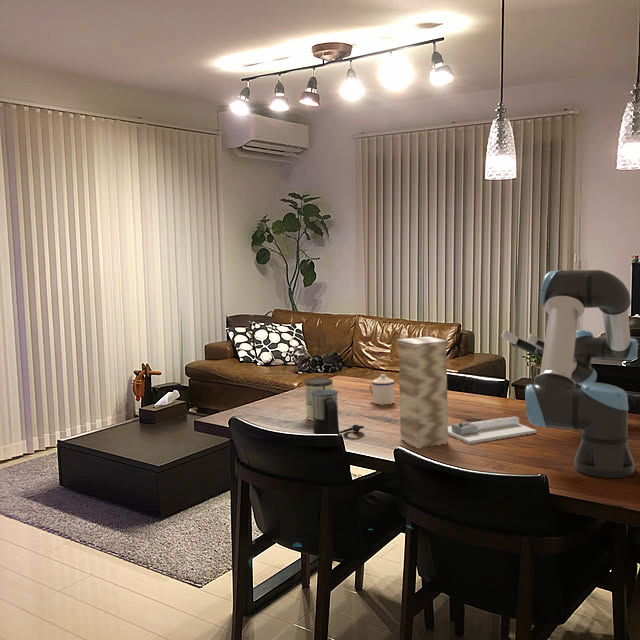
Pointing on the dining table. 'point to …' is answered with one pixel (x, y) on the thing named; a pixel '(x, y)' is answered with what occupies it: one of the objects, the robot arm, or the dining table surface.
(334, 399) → the milk frother
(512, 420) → the brushed metal bar
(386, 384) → the teacup with lid
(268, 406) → the dining table surface
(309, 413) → the coffee can
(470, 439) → the mat
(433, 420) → the beige zigzag tall box
